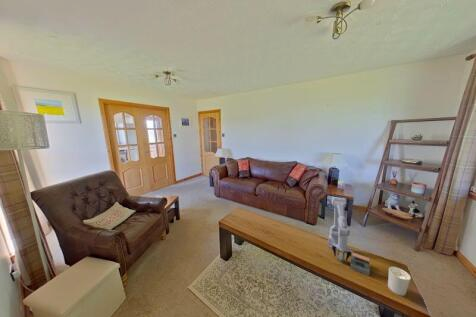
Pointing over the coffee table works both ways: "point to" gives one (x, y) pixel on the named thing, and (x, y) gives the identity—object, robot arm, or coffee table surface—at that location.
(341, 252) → the metal peg
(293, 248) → the coffee table surface
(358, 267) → the socket block
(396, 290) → the candle holder
